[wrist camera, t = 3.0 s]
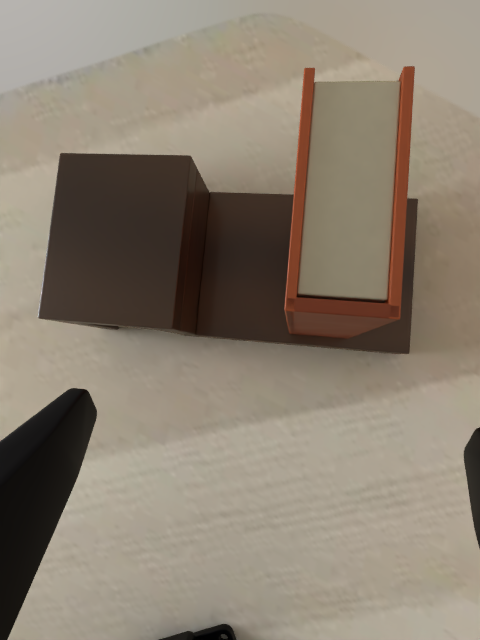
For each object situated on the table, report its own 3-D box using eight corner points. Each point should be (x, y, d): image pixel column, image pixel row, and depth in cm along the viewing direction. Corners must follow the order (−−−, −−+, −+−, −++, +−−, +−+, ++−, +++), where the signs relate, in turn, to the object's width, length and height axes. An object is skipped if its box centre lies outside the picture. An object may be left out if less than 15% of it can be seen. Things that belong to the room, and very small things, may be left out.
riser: (399, 354, 22) (438, 352, 16) (100, 328, 24) (36, 318, 18) (407, 212, 22) (448, 159, 16) (115, 201, 25) (59, 152, 19)
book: (348, 338, 20) (400, 319, 10) (289, 333, 20) (284, 310, 11) (357, 205, 21) (415, 65, 11) (299, 203, 21) (304, 66, 11)
